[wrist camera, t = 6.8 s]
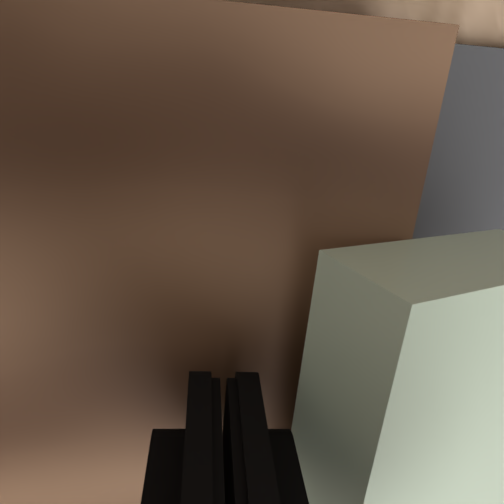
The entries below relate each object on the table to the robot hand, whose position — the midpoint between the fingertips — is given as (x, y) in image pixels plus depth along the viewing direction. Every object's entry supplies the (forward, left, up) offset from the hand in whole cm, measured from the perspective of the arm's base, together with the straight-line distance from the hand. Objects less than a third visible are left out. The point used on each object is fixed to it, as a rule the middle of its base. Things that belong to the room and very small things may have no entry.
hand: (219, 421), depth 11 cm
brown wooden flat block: (0, -2, -5) cm, 5 cm away
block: (0, +4, -1) cm, 5 cm away
